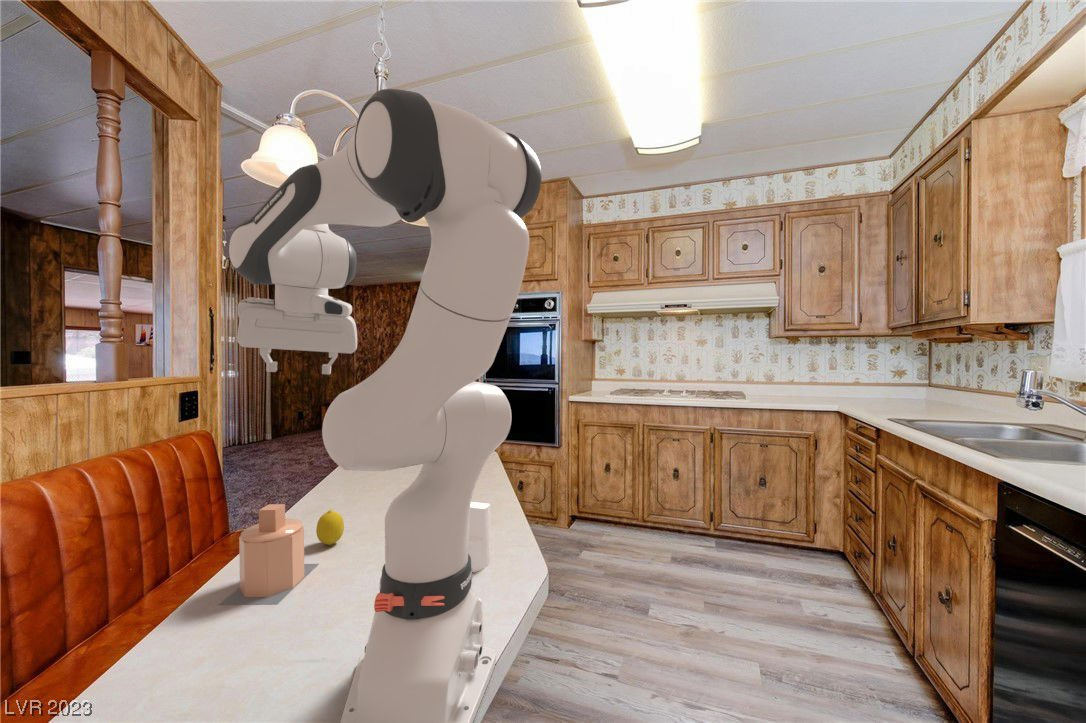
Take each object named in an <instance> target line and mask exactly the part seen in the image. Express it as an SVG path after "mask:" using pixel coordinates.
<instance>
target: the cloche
mask: <svg viewBox="0 0 1086 723" xmlns="http://www.w3.org/2000/svg"><path fill="white" fill-rule="evenodd" d="M238 539H239V540H238V541H239V543H238V544H239V547H238V548H239V588H240V590H241V591H242V593H243V595H244V596H245V597H269V596H271V595H274V594H277V593H280V592H283V591H286V590H288V589H291V588H293V587H294V586H295V585H296V584H297V583H298V582H299V581H301V580H302V579H303V578H304V564H305V527H304V526H303V522H302V520H300V519H296V518H286V504H285V503H279V504H278V503H277V504H276V503H273V504H271V503H270V504H267V505H265V506H264V507H262V508H260V509H259V510H258V523H256V524H254V525H251V526H249V527H247V528H245V529H244V530H243V531H241V533H240V536H239V537H238ZM304 579H305V578H304ZM304 579H303V580H304ZM303 580H302V581H303ZM302 581H301V582H302Z"/></svg>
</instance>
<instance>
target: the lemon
mask: <svg viewBox="0 0 1086 723" xmlns="http://www.w3.org/2000/svg"><path fill="white" fill-rule="evenodd" d="M315 530H316V531H315V532H316V537H317V538H318V541H319V542H320V543H321V544H324V545H327V546H332V545H334V544H335V543H337V542H338V541H340V539H341V538H342V536H343V534H344V532H345V531H344V530H345V523H344V518H343V517H342V514H340V513H339V512H337V511H333V510H332V509H330V510H327V512H325V513H323V514H322V515H321V516H320V517H319V519H318V521H317V523H316V529H315Z"/></svg>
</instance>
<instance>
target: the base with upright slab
mask: <svg viewBox="0 0 1086 723" xmlns="http://www.w3.org/2000/svg"><path fill="white" fill-rule="evenodd" d="M468 554H469V555H470V557H471V565H472V572H473V573H477V572H480V571H482V570H484V569H486V568H487V567H488V566H489V565H490V563H491V503H486V502H478V501H477V502H475V501H471V504H470V513H469V531H468Z"/></svg>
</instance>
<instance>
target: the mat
mask: <svg viewBox="0 0 1086 723" xmlns="http://www.w3.org/2000/svg"><path fill="white" fill-rule="evenodd" d="M319 565H320V564H319V563H304V578H303V579H302V580H301V581H299V582H298V583H297V584H296V585H295V586H294V587H293V588H291V589H288V590H286V591H283V592H280V593H277V594H274V595H271V596H269V597H245V596H244V595H243V593H242V591H241V590H240V587H238V588H237V589H236V590H235V591H234V592H232V593H231V594H229V595H228V596H227V597H226V598H224V599H223V600H222V601H221V602H219V603H218V604H217V605H218V606H244V605H245V606H248V605H249V606H253V605H255V606H257V605H259V606H260V605H261V606H262V605H266V606H267V605H269V606H270V605H279V603H280V602H283V600H284V599H285V598H286V597H287V596H288V595H289V594H290V593H291V592H292V591H293V590H294V589H295V588H296V587H298V585H299V584H300V583H301V582H303V580H304V579H306V578H307V577H308V576H309V575H310V574H311V572H313V571H314V570H315V568H317V567H318V566H319Z"/></svg>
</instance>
